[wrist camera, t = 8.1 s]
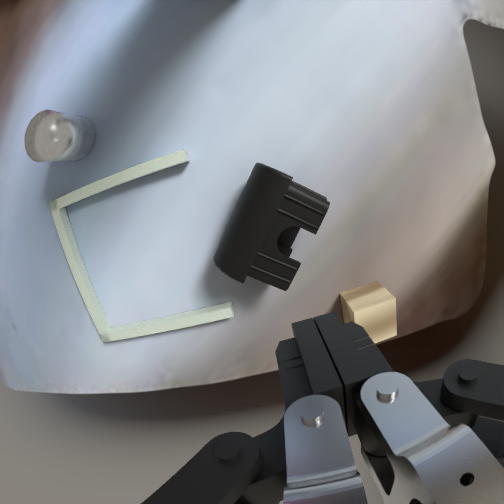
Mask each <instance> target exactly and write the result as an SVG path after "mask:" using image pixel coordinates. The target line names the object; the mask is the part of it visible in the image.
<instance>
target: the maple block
mask: <svg viewBox="0 0 504 504" xmlns="http://www.w3.org/2000/svg"><path fill="white" fill-rule="evenodd" d="M340 297H341V304H342V311H343V318H344V323H348V322H351V321H353V322H355V323H356V324H358V325H360V326H362V327H363V328H364V329H365V331H366V332H367V333H368V335H369V337H370V338H371V339H372V340H373V342H374V343H377V342H380V341H382V340H385V339H388V338H391V337H393V336H396V335H397V329H396V298H395V297H394V296H393V295H392V294H391V293H390V292H388V291H387V290H386V289H385V288H384V287H383V286H382V285H381V284H380V283H379V282H378V281H377V282H374V283H371V284H368V285H365V286H361V287H358V288H355V289H352V290H348V291H345V292H342V293H340Z"/></svg>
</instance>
